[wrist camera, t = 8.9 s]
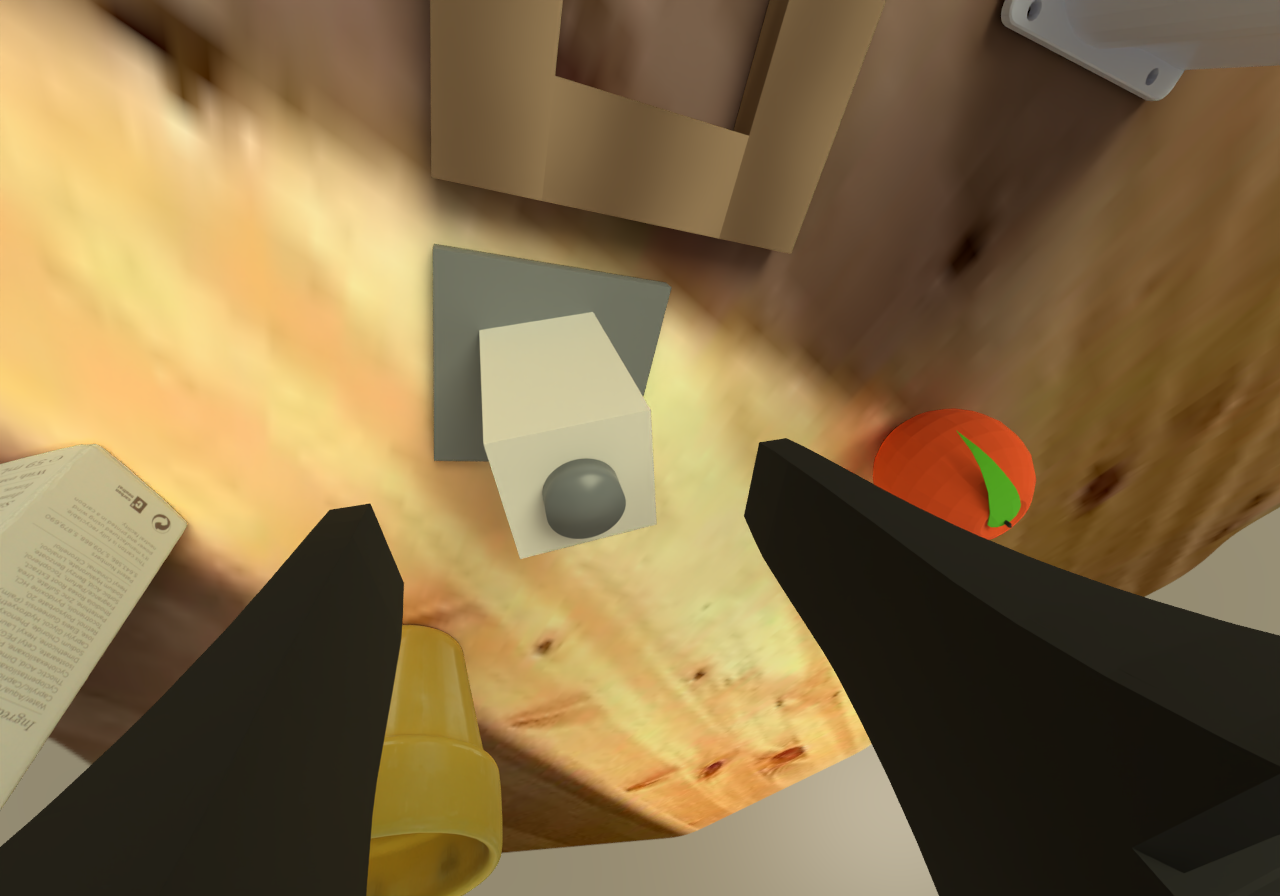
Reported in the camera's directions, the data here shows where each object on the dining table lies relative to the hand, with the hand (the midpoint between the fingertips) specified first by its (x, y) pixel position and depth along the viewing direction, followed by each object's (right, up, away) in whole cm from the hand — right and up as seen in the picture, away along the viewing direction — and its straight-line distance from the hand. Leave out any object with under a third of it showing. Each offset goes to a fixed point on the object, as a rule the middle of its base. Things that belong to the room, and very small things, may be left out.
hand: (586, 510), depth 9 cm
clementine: (+16, +2, +18) cm, 24 cm away
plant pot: (-12, -10, +17) cm, 23 cm away
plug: (-2, +4, +9) cm, 10 cm away
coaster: (-3, +4, +9) cm, 11 cm away
